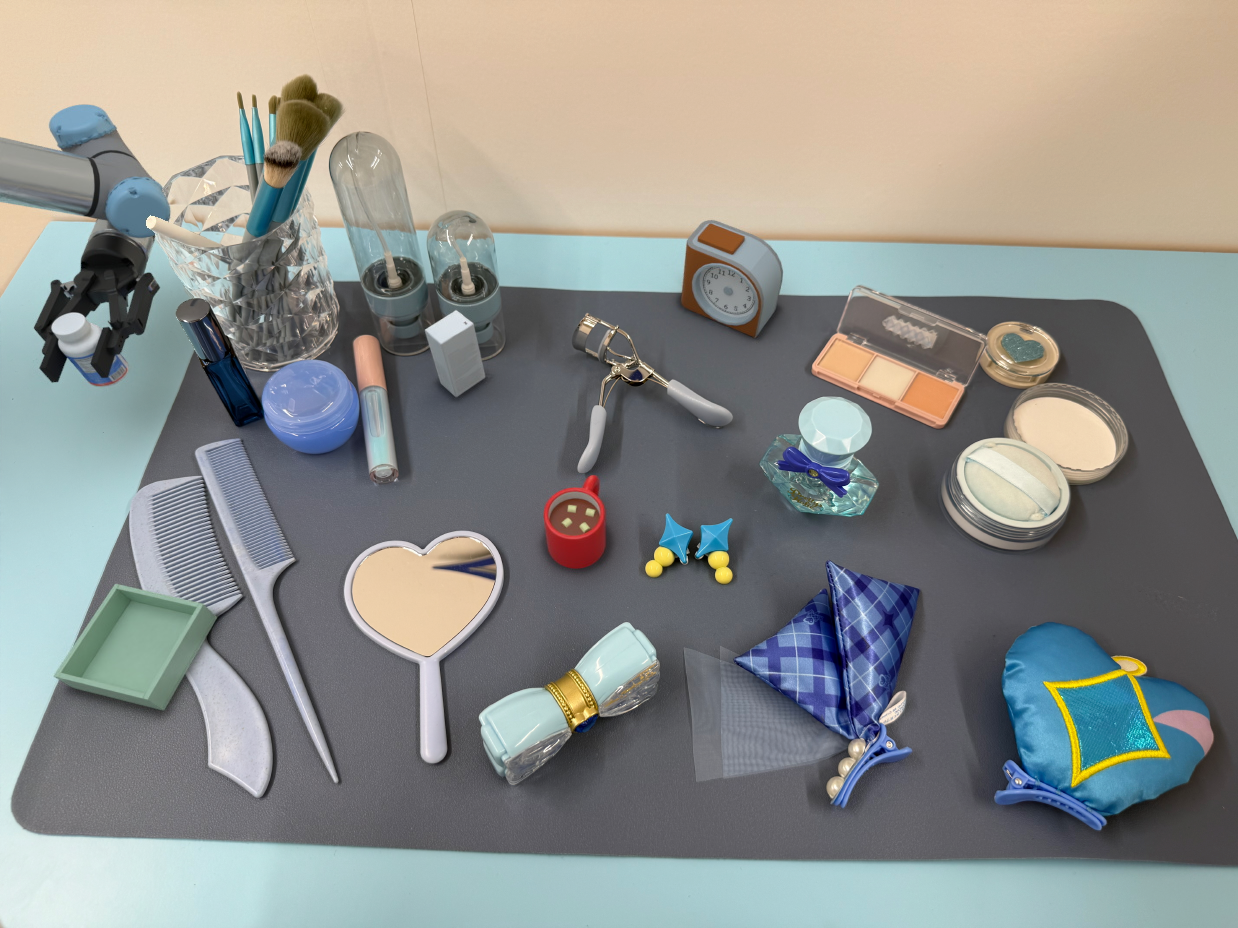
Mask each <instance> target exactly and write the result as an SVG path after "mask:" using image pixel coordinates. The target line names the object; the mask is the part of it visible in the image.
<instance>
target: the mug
mask: <svg viewBox="0 0 1238 928" xmlns="http://www.w3.org/2000/svg"><path fill="white" fill-rule="evenodd" d="M599 494H600V479H599V477H598V475H595V474H591V475H589V476H588V477H586V479H585V481H584V483H583V485H582V487H567V488H564V489H561V490H559V491H557V492H555V493H554V494H553V495H551V497H549V499H548V500H547V501H546V503H545V506H544V509H543V522H544V529H545V535H546V543H547V549H548V553H549V555H550V556H551V558H552V559H553V560H554V561H555V562H556V563H557V564H558V565H560V566H562V567H564V568H566V569H567V568H569V569H577V570H578V569H583V568H587V567H590V566H592V565H593V564H595V563H596V562H597V561H598V560H599V559H600V558H601V557H602V555H603V554H604V552H605V549H606V509H605V504H604V503H603V501H602V500H601V498H600V497H599Z"/></svg>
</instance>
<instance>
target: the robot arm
mask: <svg viewBox="0 0 1238 928" xmlns="http://www.w3.org/2000/svg"><path fill="white" fill-rule="evenodd" d="M48 128H49V132H50V133H51V135H52V137H53V138H54V140H55V142H56V143H57V145H56V146H57V147H58V148H59V149H60V150H59V149H54V148H51V147H46V146H42V145H36V144H33V143H28V142H25V141H20V140H15V139H11V138H6V137H1V136H0V203H3V204H8V205H9V204H10V205H13V206H21V207H26V208H33V209H38V210H45V211H51V212H57V213H62V214H69V215H74V216H80V217H85V218H91V219H95V223H94V225H93V228H92V230H91V232H90V235H89V237H88V239H87V243H86V245H85V247H84V250H83V251H82V254H81V257H80V271H79V272H78V273H77V274H76V275H75V276H74V277H73V280H70V281H67V282H63V283H62V281H61V280H60V279H53V280H52V281H51V282H50V293H49V294H48V297H47V299H46V301H45V303H44V305H43V307H42V309H41V312H40V314H39V315H38V317H37V320H36V322H35V324H34V326H33V330H34V331H35V332H36V333H37V335H39V337H41V339H42V340H43V341H44V344H43V346H42V349H41V354H42V355H43V358H42V360H41V363H40V365H39V368H38V369H39V370H40V371H41V372H42V374H43V375H44V376H45V378H47V379H48V380H49V381H50V382H51V383H52V384H53V383H59V381H60V378H61V376H62V373H63V370H64V368H65V365H66V363H67V359H68V358H67V357H66V356H65V354H64V353H63V352H62V351H61V349H60V348H59V345H58V340H59V339H58V338H57V337H56V335H55V334H54V333H53V331H52V328H51V327H52V324H53V322H54V321H55V320H56V319H57V318H59V317H60V316H62V315H65V314H68V313H80V314H82V315H83V316H84V317H85V318H86V319H87V317H88V315H89V314H90V313H91V312H95V311H97V309H98V308H99V307H100V305H101V304H104V303H108V310H109V320H107V323H108V324H109V326H103V327H102V328H101V329H102V332H101V335H100V337H99V340H98V343H97V346H96V349H95V352H94V354H93V357H92V360H91V363H90V364H91V366H92V367H93V368H94V369H95V370H96V372H97V373H98V374H99V375H100V377H101V378H108V376H109V373H110V370H111V367H112V364H113V361H114V357H115V355H119V354H120V353H121V354H122V352H123V349H124V346H125V343H126V340H128V339H129V338H130V336H131V335H136V336H141V335H143V334H144V333H145V331H146V327H147V323H148V319H149V317H150V316H149V315H150V312H151V308H152V304H153V300H154V297H155V296H156V294H157V293H158V292H159V290H160V289H161V286H160V284H159V283H158V281H157V280H156V278H155V277H154V275H153V273H152V272H149V271H148V272H146V269H147V263H148V261H149V259H150V256H151V253H152V250H153V246H154V243H155V241H156V240H155V239H156V236H155V233H154V232H153V231H152V230H150V229H149V228H147V226H146V220H147V218H148V217H149V216H150V215H151V216H155V217H158V218H161V219H163V220H165V221H168V223H169V222H170V219H171V205H170V203H169V201H168V199H167V196H166V197H165V195H164V194H163V192H162V189H164V187H163V186H162V185H161V183H160V182H159V181H157V180H156V179H154V178H153V177H152V176H151V175H150V174H149V173H148V172H147V169H145V168H144V166H143V165H142V164H141V163H140V161H139V160H138V159H137V157H136V156H135V154H134V153H133V152H132V151H131V149H130V148H129V147H128V146H127V144H126V143H125V141H124V140H123V137H122V136H121V135H120V133H119V131H118V130H117V129H118V127H117V126H116V125H115V124H114V123H113V121H112V120H111V117H109V115H108V113H107V112H106V110H104V109H103V108H101V107H100V106H97V105H95V104H84V103H83V104H75V105H71V106H67V107H66V108H65V107H64V108H62V109H61V110H59V111H57V112H56V113H54V115H53V116H52V117H51V118H50V119H49V123H48ZM131 293H132V297H131V300H130V304H129V298H128V297H129V295H130V294H131ZM110 327H111V328H110Z"/></svg>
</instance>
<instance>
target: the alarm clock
mask: <svg viewBox="0 0 1238 928" xmlns="http://www.w3.org/2000/svg"><path fill="white" fill-rule="evenodd" d="M684 255H685V257H684V267H683V275H682V277H683V278H682V287H681V299H680V303H681V306H682V307H683V308H685V309H686V310H688V311H691V312H693V313H696V314H697V315H700V316H703V317H705V318H708V319H710V320H712V321H715V322H717V323H719V324H722V325H724V326H727V327H729V328H732V329H734V330H736V331H737V332H741V333H742V334H745V335H747V336H750V337H752V338H754V339H755V338H757V336H758V335H759V334H760V332H761V331H762V330H763V328H764V327H765V325H766V324H767V322H768V321H769V320H770V318H771V317H772V316H773V314H774V313H775V311H776V310H777V306H778V301H779V298H780V297H779V296H780V293H781V289H782V285H783V277H784V269H783V265H782V262H781V260H780V257H779V255H778V253H777V252H776V251H775V249H774V248H773V247H772V246H771V245H770V244H769V243H768V242H766V241H765V240H764V239H762V238H761V237H759V236H757V235H754V234H753V233H751V232H747V231H745V230H742V229H740V228H736V227H734V226H732V225H729V224H726V223H724V222H722V221H718V220H715V219H708V220H704V221H702V222H701V223H700V224H699V225H698V226H697V228H696V229H694V231H693V232H692V233H691V234H690V235H689V237H687V240H686V245H685V254H684Z"/></svg>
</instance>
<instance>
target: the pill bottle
mask: <svg viewBox="0 0 1238 928" xmlns="http://www.w3.org/2000/svg"><path fill="white" fill-rule="evenodd" d="M51 328H52V331H53V333H54V334H55V335H56V337H57V338H58V339H59V340H58V345H59V348H60V349H61V351H62V352H63V353H64V354H65V356H66V357H67V359H68V360H69V361H70V363H71V364H72V365H73V366H74V367H75V369H76V370H77V371H78V372H79V373H80V374H81V376H82V377H83V379H85V380H86V381H87V382H88V383H89V384H90V385H92V386H94V387H97V388H107V387H108V388H109V387H112V386H114V385H116V384H118V383H120V382H121V381H122V380H124V379H125V377H126V376H127V375H128V373H129V370H130V365H129V362H128V361H127V360H126V358H125V357H124V356H123V354H122V352H121V353H120V354H119V355H115V357H114V361H113V364H112V367H111V370H110V373H109V376H108V378H101V377H100V375H99V374H98V373H97V372H96V370H95V369H94V368H93V367H92V366H91V364H90V363H91V360H92V357H93V354H94V352H95V349H96V346H97V343H98V340H99V337H100V335H101V332H102V329H103V328H101V327H100V326H99V325H97V324H95V323H92V322H90V321H89V320H88V319H87V317H86V318H85V317H84V316H83V315H82V314H80V313H68V314H65V315H62V316H60V317H59V318H57V319H56V320H55V321H54V322H53V324H52V327H51Z"/></svg>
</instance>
